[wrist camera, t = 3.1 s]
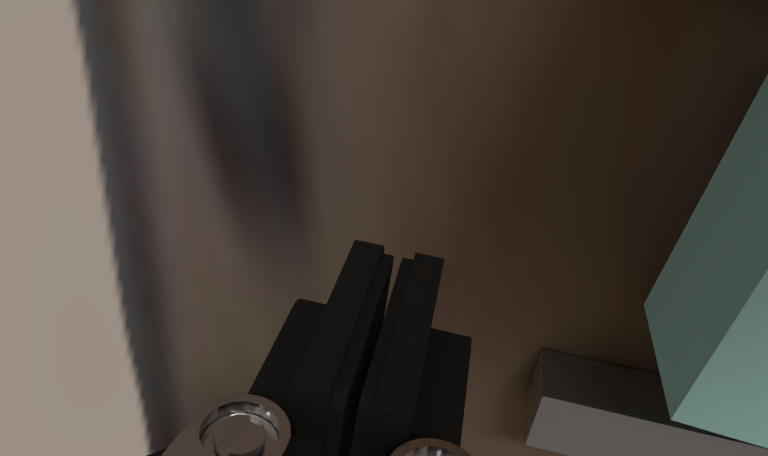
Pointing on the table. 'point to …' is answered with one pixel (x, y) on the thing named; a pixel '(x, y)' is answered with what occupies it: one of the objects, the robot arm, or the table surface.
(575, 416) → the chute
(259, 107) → the table surface
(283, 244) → the table surface
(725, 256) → the block
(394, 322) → the robot arm
